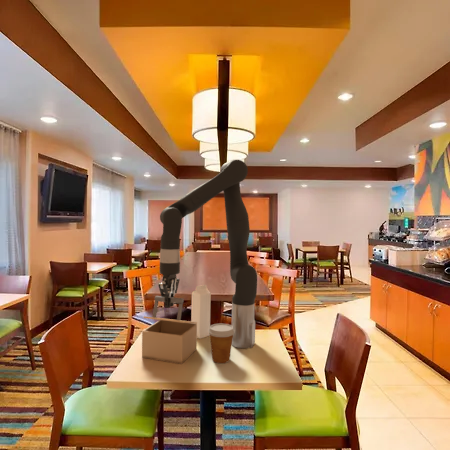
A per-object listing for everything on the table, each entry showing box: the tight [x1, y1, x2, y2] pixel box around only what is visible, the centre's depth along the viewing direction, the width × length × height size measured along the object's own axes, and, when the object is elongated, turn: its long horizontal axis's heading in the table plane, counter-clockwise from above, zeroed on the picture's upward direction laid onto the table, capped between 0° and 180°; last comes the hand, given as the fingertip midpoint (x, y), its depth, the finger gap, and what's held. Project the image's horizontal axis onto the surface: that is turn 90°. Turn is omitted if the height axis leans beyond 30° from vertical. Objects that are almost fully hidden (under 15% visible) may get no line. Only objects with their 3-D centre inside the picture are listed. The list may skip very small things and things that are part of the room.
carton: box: [141, 320, 198, 365], centre depth 130 cm, size 16×14×10 cm
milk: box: [190, 284, 212, 340], centre depth 149 cm, size 6×6×22 cm
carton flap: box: [143, 295, 197, 324], centre depth 131 cm, size 16×14×9 cm
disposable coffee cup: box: [208, 323, 234, 364], centre depth 125 cm, size 10×10×12 cm
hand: (169, 306), depth 128 cm, fingers closed on carton flap, 2 cm apart
